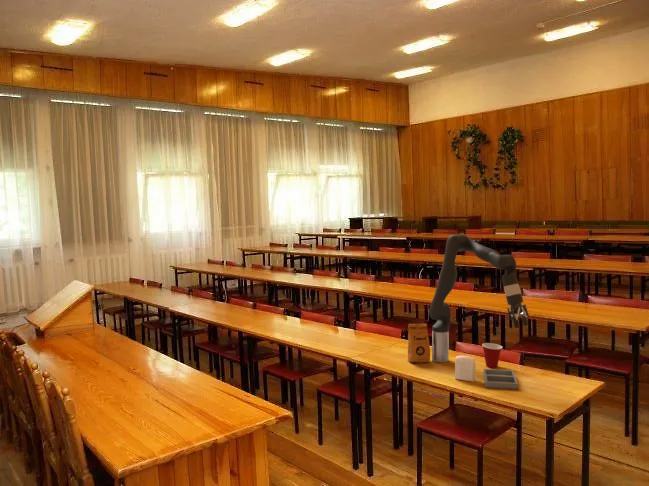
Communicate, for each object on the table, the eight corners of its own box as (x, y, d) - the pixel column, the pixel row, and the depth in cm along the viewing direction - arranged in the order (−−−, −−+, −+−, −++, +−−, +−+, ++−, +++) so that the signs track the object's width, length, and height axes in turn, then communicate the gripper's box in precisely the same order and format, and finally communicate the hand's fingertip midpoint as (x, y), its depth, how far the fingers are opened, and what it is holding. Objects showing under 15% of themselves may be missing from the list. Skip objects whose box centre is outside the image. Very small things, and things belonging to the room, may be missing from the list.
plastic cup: (503, 370, 295) (503, 348, 294) (482, 369, 297) (482, 347, 296) (501, 364, 305) (501, 342, 304) (481, 363, 307) (481, 342, 306)
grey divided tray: (485, 387, 267) (485, 382, 267) (483, 374, 288) (483, 368, 287) (518, 389, 264) (518, 383, 264) (513, 376, 284) (513, 370, 284)
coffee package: (431, 364, 308) (430, 325, 306) (408, 364, 308) (408, 325, 307) (428, 358, 318) (428, 321, 316) (407, 359, 318) (406, 321, 317)
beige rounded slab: (476, 379, 279) (476, 356, 278) (474, 382, 276) (474, 358, 275) (456, 377, 284) (456, 353, 284) (454, 379, 281) (453, 355, 280)
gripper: (513, 294, 277) (522, 326, 274) (499, 296, 268) (507, 329, 265) (527, 291, 272) (535, 323, 269) (512, 293, 262) (521, 327, 259)
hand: (521, 326), depth 267 cm, fingers open, 8 cm apart
